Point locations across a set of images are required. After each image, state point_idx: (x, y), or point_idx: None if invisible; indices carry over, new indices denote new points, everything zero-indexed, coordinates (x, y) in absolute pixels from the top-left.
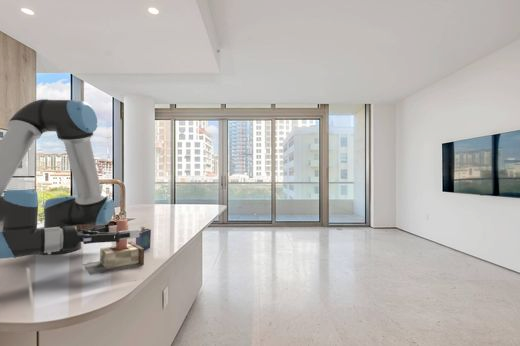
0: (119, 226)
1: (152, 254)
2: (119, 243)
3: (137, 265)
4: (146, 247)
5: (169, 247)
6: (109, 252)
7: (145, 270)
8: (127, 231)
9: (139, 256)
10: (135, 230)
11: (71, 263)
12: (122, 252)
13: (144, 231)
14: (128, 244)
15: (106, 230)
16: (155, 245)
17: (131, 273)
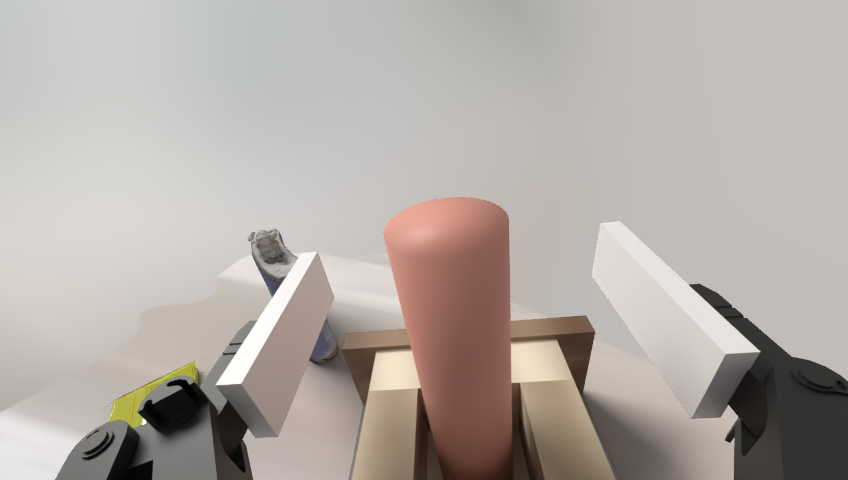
0: (499, 299)
1: (384, 313)
2: (507, 418)
3: (587, 408)
4: None
5: (344, 259)
6: None
7: (639, 393)
8: (685, 286)
9: (571, 366)
10: (636, 241)
11: None
12: (597, 446)
13: (286, 249)
14: (387, 360)
15: (223, 443)
16: None
17: (687, 474)
